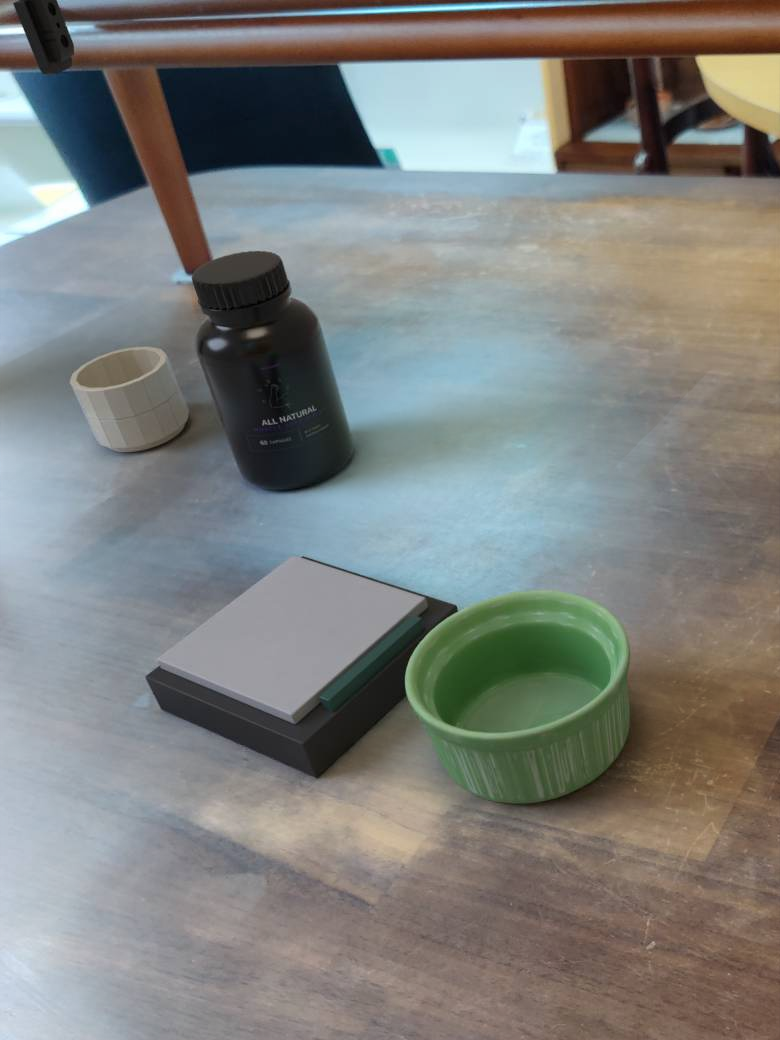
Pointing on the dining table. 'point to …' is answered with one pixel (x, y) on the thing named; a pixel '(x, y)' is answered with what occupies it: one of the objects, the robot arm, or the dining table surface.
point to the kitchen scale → (298, 662)
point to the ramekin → (524, 694)
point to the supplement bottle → (269, 373)
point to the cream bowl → (131, 398)
